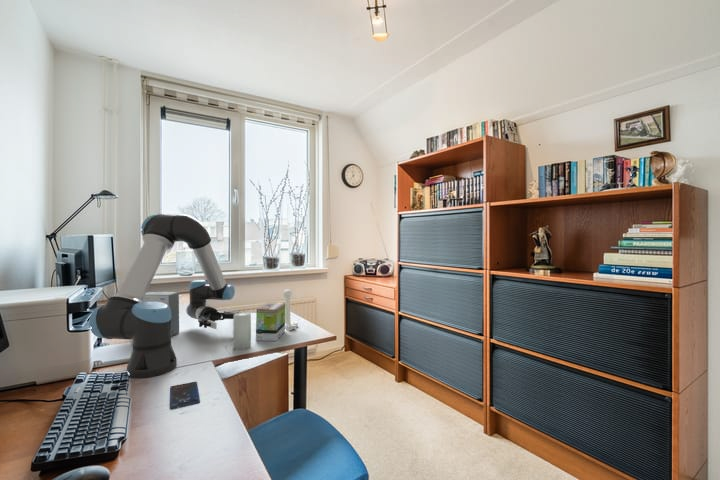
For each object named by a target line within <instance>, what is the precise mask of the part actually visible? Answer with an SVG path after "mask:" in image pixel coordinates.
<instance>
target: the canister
mask: <svg viewBox="0 0 720 480" xmlns="http://www.w3.org/2000/svg"><path fill="white" fill-rule="evenodd" d="M232 320H233V328H232V329H233V331H232V332H233V335H232V336H233V339H232V340H233V342H232V343H233V350H237V351H242V350H244V351H245V350H248V349H250V348H251V346H252V343H251V342H252V341H251V340H252V338H251V337H252V333H251V332H252V314H251V313H250V312H241V313H237V314H234V315H233V319H232Z"/></svg>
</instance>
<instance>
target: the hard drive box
mask: <svg viewBox="0 0 720 480" xmlns="http://www.w3.org/2000/svg"><path fill="white" fill-rule="evenodd" d="M142 302H161V303H165V304H167V305H169V307H170V309H171V316H172V319H171V337H173V336H174V335H177V334H179V333H180V293H179V292H178V291H177V292H175V291H149V292H146V294H145V296H144V298H143V300H142Z"/></svg>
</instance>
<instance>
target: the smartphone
mask: <svg viewBox="0 0 720 480" xmlns="http://www.w3.org/2000/svg"><path fill="white" fill-rule="evenodd" d="M169 393H170V394H169V409H170V410H176V409H180V408H185V407H189V406H194V405H197V404H200V403H201V400H200V399H201V398H200V393H199V388H198V382H197V381H192V382H185V383H181V384H177V385H171V386H170V389H169Z"/></svg>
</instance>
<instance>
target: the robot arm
mask: <svg viewBox="0 0 720 480" xmlns="http://www.w3.org/2000/svg"><path fill="white" fill-rule="evenodd" d="M140 228H141V229H142V230H141V231H140V233H141V236H142V241H143V244H142V247H141V248H140V249H139V252H138V253H137V256H136V257H135V259H134V261H133V263H132V265H131V267H130V268H129V270H128V272H127V274H126V276H125V278H124V280H123V282H122V283H121V285H120V287H119V289H118V291H117V292H116V294H114V295H111V296H109V298H108V300H107V301H106V303H105V304H101V305H99V306H96V307H95V308H94V309H93V311H91V314H90V316H89V320H88V323H89V327H90V326H91V327H92V329H91V330H90V331H91V333H92V334H93V335H94V336H95V337H97V338H99V339H100V338H102V339H105V340H130V341H131V340H132V352H131V354H130V357H129V360H128V363H127V365H126V372H127V371H128V372H129V373H130V377H129V378H134V379H141V378H152V377H156V376H160V375H163V374H165V373H168V372H171V371H172V370H174V369H176V368H177V365H178V364H177V363H178V361H177V356H176V353H175V351H174V349H173V346H172V336H171V319H172V316H171V309H170V307H169V305H167V304H165V303H161V302H142V300H143V298H144V296H145V294H146V293H148V292H147V291H148V290H149V287H150V285H151V283H152V281H153V279H154V278H155V275H156V273H157V271H158V269H159V267H160V265H161V263H162V261H163V259H164V257H165V255H166V252H168V251H169V250H171V249H172V248H173V247H174V245H175V243H176V242H184V243H185V244H187V247H188V248H189V249H191V250H192V252H193V254H194V255H195V258H196V259H197V262H198V264H199V267H200V269H201V270H202V273H203V275H204V277H205V279H206V280H205V279H193V280H191V281H190V283H189V304H188V305H187V307H186V309H185V312H186V314H187V316H189V317H190V318H192V319H194V320H195V319H196V320H197V322H198V327H200V328H202V327H203V329H207V328H211V329H214V330H216V329H217V322H218V321H224V320H233V315H234V314H237V313H242V312H240V311H237V312H236V311H227V310H223V312H220V311H218V309H216V308H214V307H211V306H209V305H207V300H212V301H231V300H232V299H233V298H234V296H235V290H236V289H235V287H234V286H233V284H228V283H227V281H226V280H225V277H224V274H223V271H222V268H221V267H220V264H219V261H218V259H217V257H216V254H215V253H214V252H215V251H214V249H213V247H212V245H211V242H212V238H211V236H210V233H209V232H208V230H207V229H206V228H205V226H204V225H203V224H202V223H201V221H199V220H198V219H196V218H195V217H193V216H191V215H188V214H162V213H158V214H151V215H150V216H149V215H148V216H147V217H146V218H145V219H144V220H143V222H142V224H141V227H140ZM207 283H208V284H207ZM216 321H217V322H216Z"/></svg>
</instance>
